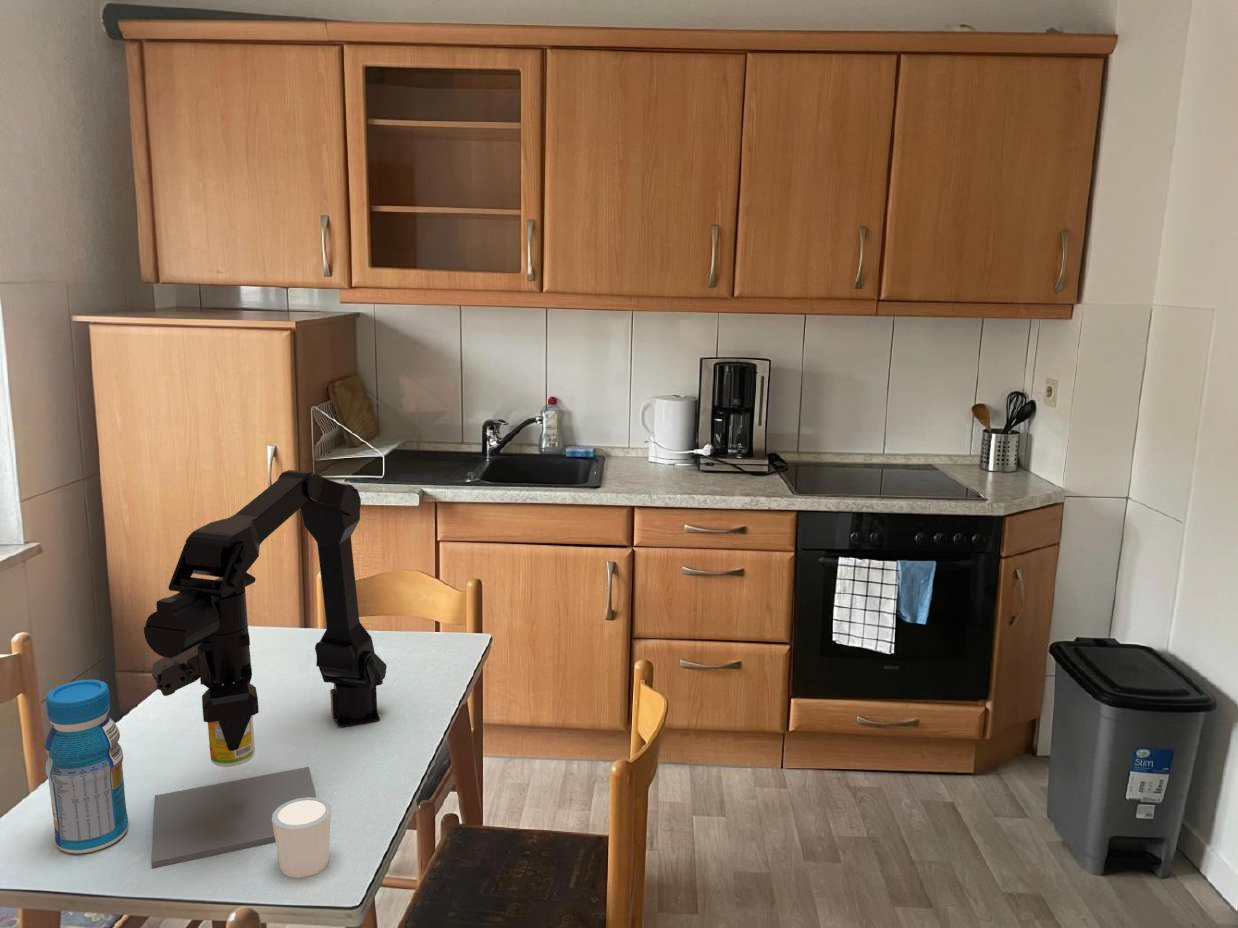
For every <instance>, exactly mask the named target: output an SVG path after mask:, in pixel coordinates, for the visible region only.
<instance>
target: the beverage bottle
mask: <svg viewBox="0 0 1238 928" xmlns="http://www.w3.org/2000/svg"><path fill="white" fill-rule="evenodd" d="M45 702H46V711H47V712H46V713H47V717H48V720H49V722H50V723H51V724H52V727H51V728H50V730H49V732H48V734H47V736H46V739H45V742H44V753H45V755H46V756H47V757H48V758H47V760H46V761H45V774H46V777H47V778H48V786H49V794H50V795H49V796H50V802H51V803H50V804H51V809H52V810H51V811H52V818H53V826H54V841H55V844H56V846H57V848H58V849H59V850H61V851H62V852H65V853H69V854H86V853H92V852H96V851H100V850H102V849H105V848H107V847H109V846H111V845H114V844H115V843H116V842H118V841H119V840H120V839H122V838H123V836H125V834H126V833H127V831H128V828H129V817H128V811H127V803H126V793H125V792H126V791H125V782H124V781H125V780H124V771H123V769H124V767H123V761H124V751H123V748H122V746H121V745H120V743H119V740H120V738H121V733H120V729H119V728H118V726H117V724H116V722H115V720H113V719H112V718H111V716H109V715H108V713H110V710H111V697H110V689H109V687H108V684H107V683H106V681H105V682H104V681H102V680H99V679H81V680H80V679H79V680H76V681H75V680H74V681H71V682H70V681H69V682H66V683H63V684H60V685H59V686H57V687H54V688H53V689H52V690H50V691H49V692H48V693H47V695H46V700H45Z"/></svg>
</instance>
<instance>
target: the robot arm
mask: <svg viewBox="0 0 1238 928" xmlns="http://www.w3.org/2000/svg"><path fill="white" fill-rule="evenodd" d="M361 500H362V499H361V496H360V493H359V491H358V489H357V488H355V486H353V484H349V483H340V482H337V481H335V480H331V479H327V478H325V477H323V476H322V475H320V474H318V473H316V472H314V471H303V470H294V469H288V470H287V471H282V472H281V473H280V475H279V476H278V479H277V480H276V481H275V482H274V483H272V484H271V485H270V486H268V487H267V488H266V489H264V491H262V492H261V493H260V494H258V495H257V496H256V497H255V498H253V499H252V500H251V501H250V502H248V503H247V504H246V505H245V506H243V507H242V508H241V509H240V510H239V511H237V512H236V513H235V514H233V515H231V516H229V517H227V518H223V519H219V520H215V521H210V522H209V523H207V524H205V525H203V526H201V527H199V528H196V529H195V530H194V531H192V532H191V533H190V534H189V535H188V537H187V538H186V540H185V544H183V548H182V550H181V553H180V555H179V557H178V561H177V564H176V567H175V569H174V572H173V575H172V577H171V579H170V582H169V584H168V587H167V588H168V590H169V592H170V591H171V592H178V593H175V594H173V595H171V596H169V597H163V598H161V599H159V600H156V603H155V604H156V605H155V606H156V611H154V612H151V614H150V615H149V616H148V617H147V620H146V621H145V625H144V627H143V634H144V638H145V640H146V643H147V645H148V646H149V647H150V649H151V650H152V651H153V652H154V653H156V655H158V656H161V657H162V658H160V659H157V660H156V661H155V662H154V663H153V664H152V666H151V667H152V668H151V676H152V678H153V680H154V682H155V683H156V689H157V690H158V691H160V693H161V694H162V696H164V697H166V696H167V697H168V696H170V695H173V694H175V692H176V691H178V690H180V689H182V688H184V687H186V686H188V685H191V684H193V683H195V682H197V681H198V680H199V679H200V680H199V681H200V682H199V683H200V685H203V686H204V687H206V688H207V690H206V691H205V692H204V693H203V694H202V695H201V705H202V706H201V707H202V718H203V722H204V723H207V724H208V723H210V722H216V721H218V722H219V724H220V727H221V730H222V733H223V736H224V739H225V741H226V744H227V747H228V750H229V751H234V750H237V749H238V748H239V745H240V743H241V740H242V738H243V735H244V733H245V730H246V728H247V725H248V723H249V721H250V718H251V716H253V717H254V716H255V715H257V714H259V712H260V711H259V698H258V697H259V696H258V693H257V687H256V686H255V685H253V684H252V683H251V680H252V676H253V671H252V670H253V669H252V660H251V651H250V650H251V649H250V645H251V640H250V638H251V637H250V633H249V623H248V622H249V621H248V610H247V609H248V607H247V593H246V587H248V586H250V585H253V584H254V583H255V582H256V580H257V579H256V577H255V576H253V575H252V574H250V573H248V571H249V569H250V568H251V567H252V565H253V564H254V563H255V562H256V561H257V559H259V557H260V546H261V544H262V543H263V542H264V541H265V540H267V538H268V537H269V536H270V535H272V534H273V533H274V532H275V531H276V530H277V529H278V528H279V527H280V526H282V525H283V524H284V523H286V521H287V520H289V519H290V518H291V517H292V516H293V515H294V514H295V513H296V512H298V511H299V510H300V514H301V517H302V521H303V522H302V523H303V526H304V528H305V529H306V530H307V532H309V534H310V535H311V536H312V538H313V539H314V540H315V541H316V545H317V552H318V554H317V555H318V561H319V562H318V563H319V569H320V571H319V572H320V579H321V588H322V597H323V606H324V607H323V608H324V613H325V615H324V616H325V623H326V629H325V631H324V633H323V634H322V637H321V639H320V640H319V641H318V642H316V643H315V646H314V650H315V654H316V664H315V666H316V667H318V668H319V669H318V671H319V672H320V675H321V677H322V680H323V682H324V683H331V684H333V688H331V689H330V691H329V694H330V695H329V696H330V710H331V715H332V718H333V720H335V721H336V724H337V727H338V728H339V727H340V728H341V727H342V728H343V727H348V726H353V725H359V724H360V725H361V724H366V723H372V722H378V721H380V720H381V719H380V718H381V717H380V713H379V712H378V700H377V699H378V698H377V695H378V694H377V687H378V686H381V685H382V684H383V682H384V681H383V680H384V679H385V678H386V674H387V663H386V662H385V661H383V659H382V658H381V657H380V656H378V655H377V654H376V653H375V648H374V643H373V638H372V636H371V634H369V632H368V631H367V630H366V628H365V627H364V626H363V624H362V623H361V622H360V614H359V613H360V612H359V605H358V604H359V603H358V595H357V586H356V585H357V583H356V576H355V566H354V555H353V554H354V553H353V544H352V535H353V533H354V532H355V529H356V527H357V526H358V524H359V522H360V520H361V504H362V501H361ZM193 575H198V576H207V577H216V578H215V579H209V578H203V577H192V576H193ZM233 682H235V684H233ZM223 683H224V685H223V686H222V684H223Z"/></svg>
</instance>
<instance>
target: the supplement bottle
mask: <svg viewBox="0 0 1238 928" xmlns="http://www.w3.org/2000/svg"><path fill="white" fill-rule="evenodd" d="M233 684H235V682H233ZM223 685H224V683H223V684H222V686H223ZM253 717H254V715H253V716H251V718H250V721H249V723H248V725H247V728H246V730H245V733H244V735H243V738H242V740H241V743H240V745H239V748H238V749H237V750H234V751H229V750H228V747H227V744H226V741H225V739H224V736H223V733H222V730H221V727H220V724H219V722H218V721H216V722H210V723H208V722H207V730H208V741H209V745H208V746H209V754H210V760H211V763H212V764H214V765H215V766H217V767H220V768H221V767H222V768H228V767H229V768H230V767H236V766H241V765H243V764H245V763H247V762H249V761H250V760H252V759H253V758H254V755H255V752H256V747H255V746H256V745H255V743H256V742H255V732H254V731H255V730H254V718H253Z"/></svg>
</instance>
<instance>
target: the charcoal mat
mask: <svg viewBox="0 0 1238 928" xmlns="http://www.w3.org/2000/svg"><path fill="white" fill-rule="evenodd" d="M311 773H312V772H311V769H310V766H305V767H300V768H294V769H289V770H284V771H279V772H278V771H277V772H273V773H268V774H267V773H266V774H263V775H262V774H261V775H257V776H252V777H245V778H241V779H235V780H231V781H226V782H219V783H215V784H214V783H213V784H209V785H208V784H207V785H204V786H198V787H194V788H188V789H182V790H177V791H176V790H175V791H172V792H166V793H160V794H157V795H156V794H155V795H154V803H153V806H154V807H153V821H152V822H153V824H152V825H153V827H152V841H151V842H152V843H151V859H150V860H151V861H150V863H151V869H156V868H159V867H164V866H168V865H174V864H178V863H182V862H186V861H193V860H196V859H197V860H198V859H200V858H206V857H211V856H215V855H220V854H225V853H228V852H235V851H239V850H244V849H248V848H252V847H257V846H262V845H267V844H270V843H272V844H273V843H276V840H275V834H274V829H273V823H272V815H273V813H274V811H275V810H276V809H277V808H278V807H279V806H281V805H283V804H284V803H286V802H289V801H292V800H295V799H298V798H306V797H312V798H318V797H317V794H316V790H315V786H314V782H313V777H312V774H311Z"/></svg>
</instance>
